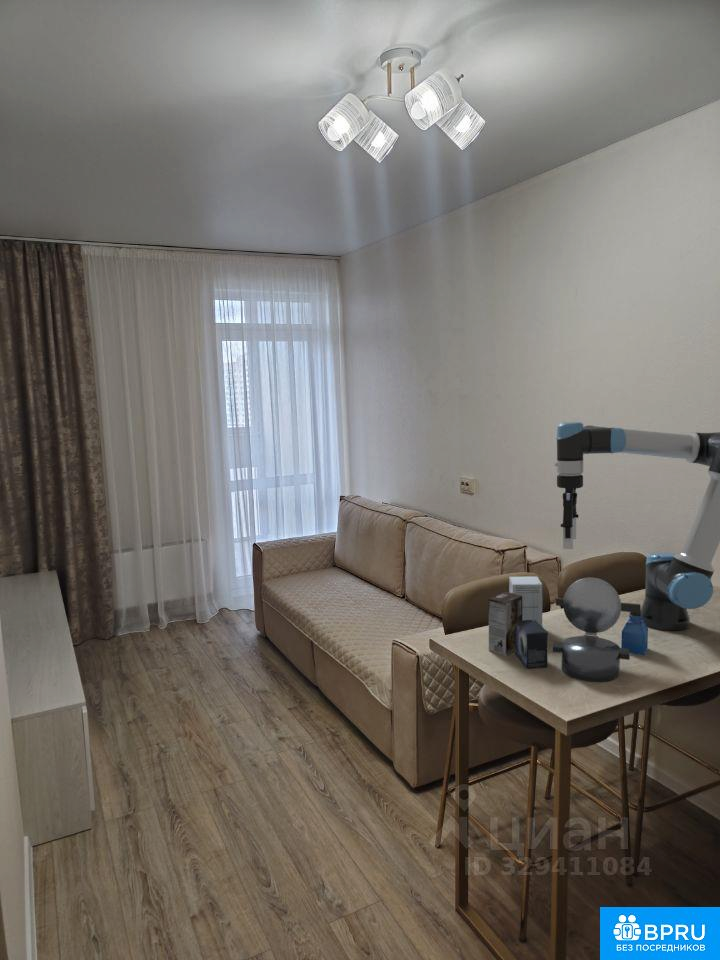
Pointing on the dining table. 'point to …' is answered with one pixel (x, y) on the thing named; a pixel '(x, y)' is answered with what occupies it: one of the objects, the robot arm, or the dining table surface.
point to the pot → (590, 658)
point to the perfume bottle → (635, 634)
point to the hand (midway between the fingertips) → (569, 543)
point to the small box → (531, 644)
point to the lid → (593, 605)
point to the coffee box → (503, 622)
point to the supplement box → (528, 596)
